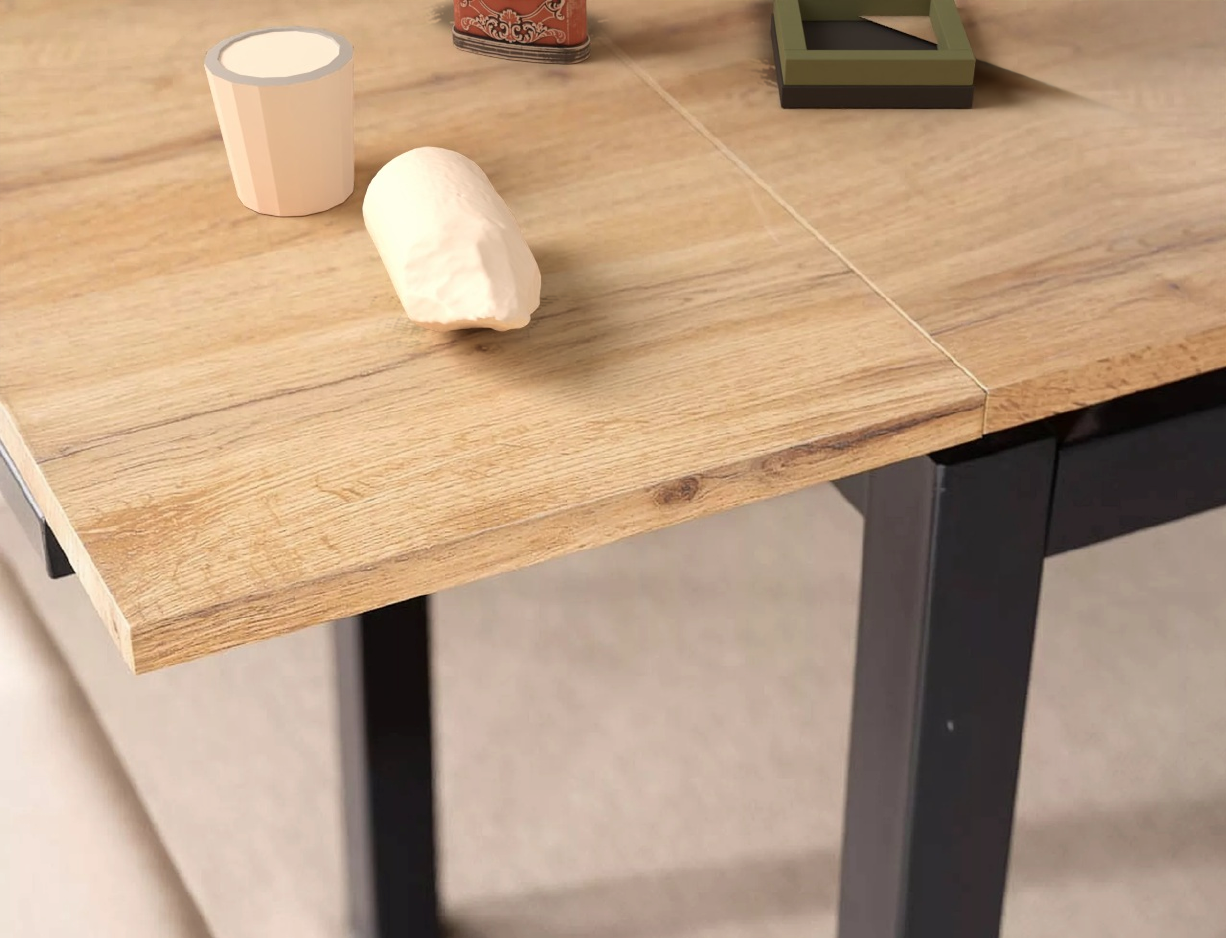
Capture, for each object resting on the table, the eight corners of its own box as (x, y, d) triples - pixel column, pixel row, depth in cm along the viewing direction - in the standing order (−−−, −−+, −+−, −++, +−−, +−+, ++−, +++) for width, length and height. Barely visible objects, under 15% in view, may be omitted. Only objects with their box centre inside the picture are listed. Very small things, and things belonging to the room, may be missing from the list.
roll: (429, 408, 69) (418, 287, 66) (366, 265, 79) (354, 151, 75) (573, 381, 71) (570, 261, 68) (495, 243, 80) (489, 131, 77)
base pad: (946, 32, 99) (951, -14, 98) (972, 108, 91) (978, 59, 90) (770, 32, 99) (772, -14, 98) (780, 108, 91) (783, 59, 90)
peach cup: (231, 231, 81) (210, 91, 77) (218, 166, 86) (197, 31, 82) (378, 211, 83) (364, 73, 78) (356, 149, 88) (342, 15, 84)
